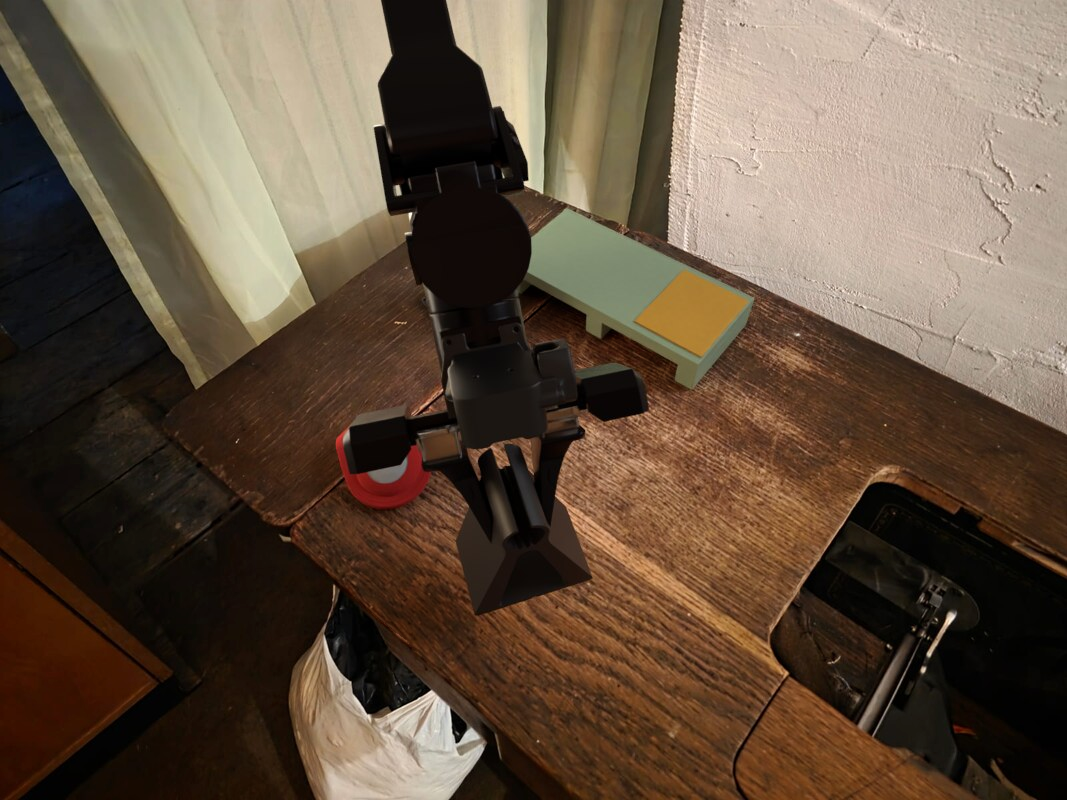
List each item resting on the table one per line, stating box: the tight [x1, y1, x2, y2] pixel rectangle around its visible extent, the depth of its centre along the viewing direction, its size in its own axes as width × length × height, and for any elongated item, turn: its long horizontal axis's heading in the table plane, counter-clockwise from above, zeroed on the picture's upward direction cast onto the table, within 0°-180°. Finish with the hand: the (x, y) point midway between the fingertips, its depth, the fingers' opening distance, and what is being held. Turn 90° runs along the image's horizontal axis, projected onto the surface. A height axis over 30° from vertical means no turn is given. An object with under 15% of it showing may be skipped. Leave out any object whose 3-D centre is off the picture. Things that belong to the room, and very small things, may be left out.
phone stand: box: [455, 443, 593, 617], centre depth 46 cm, size 9×6×12 cm, turn 106°
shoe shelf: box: [517, 207, 755, 391], centre depth 72 cm, size 24×11×4 cm, turn 51°
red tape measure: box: [335, 426, 432, 510], centre depth 62 cm, size 12×4×10 cm
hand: (520, 539), depth 45 cm, fingers closed on phone stand, 3 cm apart
